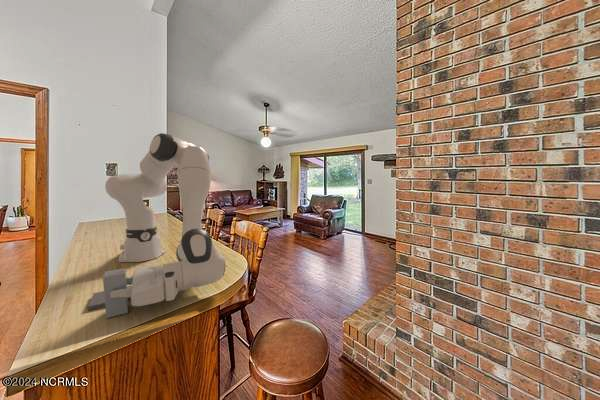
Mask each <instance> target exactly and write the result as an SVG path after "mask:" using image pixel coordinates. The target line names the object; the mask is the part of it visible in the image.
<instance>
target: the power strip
mask: <svg viewBox="0 0 600 400" xmlns="http://www.w3.org/2000/svg"><path fill="white" fill-rule="evenodd" d="M127 287H132V285H127ZM130 302H131V297H128V303H130ZM102 308H105V297H104V290H103V291H99V292H94V293H93V294H92V296H91V299H90V300H89V303H88V305H87V310H88V312H90V311H94V310H98V309H102Z"/></svg>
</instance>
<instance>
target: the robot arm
mask: <svg viewBox="0 0 600 400" xmlns="http://www.w3.org/2000/svg"><path fill="white" fill-rule="evenodd" d="M173 168H177V184H178V190H179V196H180V201H181V207H182V235H181V238H180V241H179V243H178V245H177V247H176V251H175V256H176V259H177V260H178V261H173V262H168V263H162V265H160V264H153V265H144V266H139V267H135V268H134V269H133V273H132V275H129V276H126V280H127V289H119V288H117V289H112V290H111V292H110V297H111V298H116V297H131V301H130V302H131V306H132V307H142V306H147V305H152V304H157V303H160V302H163V301H166V302H170V301H174V300H175V299H176V296H177V294H178V293H179V292H182V291H186V290H187V289H190V288H199V287H204V286H207V285H212V284H215V283H217V282H219V281H220V280H221V279H222V278H223V276H224V275H225V272H226V259H225V257H224V255H222V254H221V253H220V252H219V251H218V249H217V248H216V246H215V244H214V242H213V240H212V236H211V234H210V233H209V232H208V231H206V230H205V229H203V228H202V212H203V208H204V205H205V202H206V200H207V198H208V196H209V193H210V188H211V180H212V178H211V177H212V176H211V175H212V173H211V166H210V155H209V153H208V152H207V151H206V150H205V149H204V148H202V147H201V146H199V145H198V146H197V145H195V144H194V143H192V142H189V141H187V140H184V139H182V138H179V137H176V136H172V135H171V134H168V133H163V132H162V133H158V134H156V135H155V136H154V137H153V139H152V140H151V142H150V145H149V151H147V153H146V154H145V156H144V157H143V158H142V160H140V162H139V170H140V172H141V173H131V174H130V173H123V174H116V175H112V176H110V177H108V178H107V180H106V181H105V185H104V187H105V191H106V193H107V195H108V196H109V197H110V198H112V199H113V200H116V202H118V204H119V205H120V206H121V208H122V210H123V211H124V214H125V222H126V229H125V240H124V242H123V244H120V245H119V249H120V252H119V255H118V262H119V263H138V262H139V263H140V262H146V261H147V262H148V261H151V260H153V259H156V258H159V257H160V256H161V255H163V254H165V253H166V250H164V249H163V248H162V238H161V237H160V236H159V235H158V232H157V231H158V229H157V226H156V217H155V216H156V215H155V211H154V209H153V208H152V207H150V206H147V205H146V204H145V202H144V199H145V198H146V199H147V198H155V197H158V196H162V195H164V194H165V193H166V192H167V189H168V183H167V181H166V179H165V178H166V177H167V175H169V173H170V172H171V171H172V170H173ZM128 286H132V287H128Z"/></svg>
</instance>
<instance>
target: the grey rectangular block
mask: <svg viewBox="0 0 600 400" xmlns="http://www.w3.org/2000/svg"><path fill="white" fill-rule="evenodd" d="M126 270H127V269H126V268H125V267H124V268H120V269H114V270H109V271H108V270H107V271H104V274H103V276H102V282H103V284H102V285H103V291H104V297H105V307H104V308H105V318H106V319H109V318H112V317H116V316H121V315H125V314H128V311H129V302H128V297H116V298H111V297H110V292H111V290H112V289H117V288H119V289H127V287H128V285H127V280H126V277H127V271H126Z"/></svg>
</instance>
